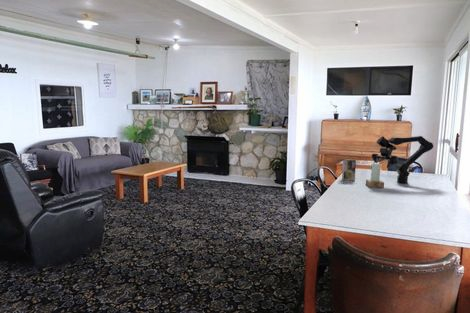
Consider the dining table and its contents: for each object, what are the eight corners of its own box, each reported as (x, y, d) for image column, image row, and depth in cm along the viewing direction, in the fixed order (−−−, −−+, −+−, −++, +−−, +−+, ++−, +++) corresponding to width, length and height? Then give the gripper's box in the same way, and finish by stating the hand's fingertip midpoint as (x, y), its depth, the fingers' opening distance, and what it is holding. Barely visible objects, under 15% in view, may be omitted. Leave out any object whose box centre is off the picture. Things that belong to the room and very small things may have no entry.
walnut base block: (379, 185, 274) (379, 179, 274) (383, 188, 264) (384, 182, 264) (365, 184, 275) (366, 179, 274) (369, 187, 265) (369, 182, 265)
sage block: (373, 180, 272) (374, 162, 270) (379, 181, 269) (380, 163, 267) (370, 180, 269) (371, 163, 267) (376, 181, 266) (377, 164, 264)
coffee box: (353, 179, 295) (354, 159, 293) (355, 180, 289) (356, 160, 287) (341, 178, 296) (342, 158, 294) (343, 180, 290) (344, 160, 287)
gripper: (373, 142, 281) (365, 158, 275) (398, 145, 268) (390, 161, 262) (377, 152, 288) (369, 167, 282) (401, 154, 275) (394, 171, 269)
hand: (380, 166), depth 273 cm, fingers open, 9 cm apart
